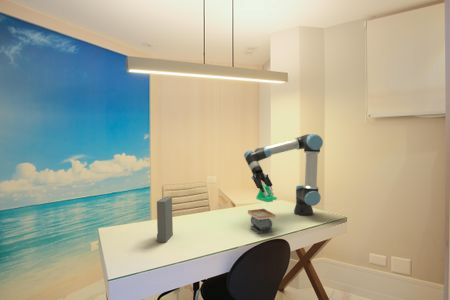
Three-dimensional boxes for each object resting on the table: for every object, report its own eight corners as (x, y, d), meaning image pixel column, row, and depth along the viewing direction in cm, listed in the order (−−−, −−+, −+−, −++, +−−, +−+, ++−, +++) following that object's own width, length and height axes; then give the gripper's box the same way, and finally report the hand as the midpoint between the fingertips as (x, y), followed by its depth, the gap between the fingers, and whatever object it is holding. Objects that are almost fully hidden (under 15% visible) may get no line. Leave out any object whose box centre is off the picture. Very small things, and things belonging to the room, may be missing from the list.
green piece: (262, 202, 183) (263, 187, 183) (256, 200, 190) (256, 185, 189) (277, 201, 189) (277, 186, 188) (270, 198, 195) (270, 184, 195)
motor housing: (263, 225, 195) (263, 208, 194) (275, 232, 180) (275, 214, 179) (248, 227, 191) (247, 210, 190) (258, 235, 176) (258, 216, 175)
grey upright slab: (163, 234, 180) (163, 196, 179) (173, 234, 179) (172, 196, 178) (156, 242, 166) (155, 201, 165) (166, 242, 165) (165, 201, 164)
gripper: (263, 171, 206) (277, 197, 193) (243, 172, 198) (256, 199, 184) (267, 165, 202) (282, 191, 188) (248, 166, 193) (261, 193, 179)
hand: (269, 195), depth 186 cm, fingers closed on green piece, 4 cm apart
